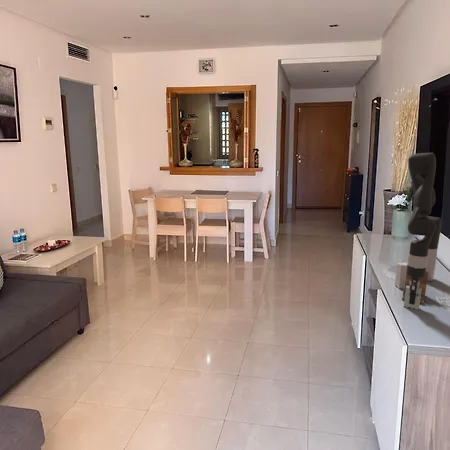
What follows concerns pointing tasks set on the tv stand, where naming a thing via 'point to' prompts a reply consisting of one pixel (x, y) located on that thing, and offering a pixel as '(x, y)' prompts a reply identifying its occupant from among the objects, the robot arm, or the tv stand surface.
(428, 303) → the tv stand surface
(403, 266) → the skincare box
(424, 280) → the cabinet
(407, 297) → the door
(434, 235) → the robot arm
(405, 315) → the tv stand surface
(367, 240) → the tv stand surface
